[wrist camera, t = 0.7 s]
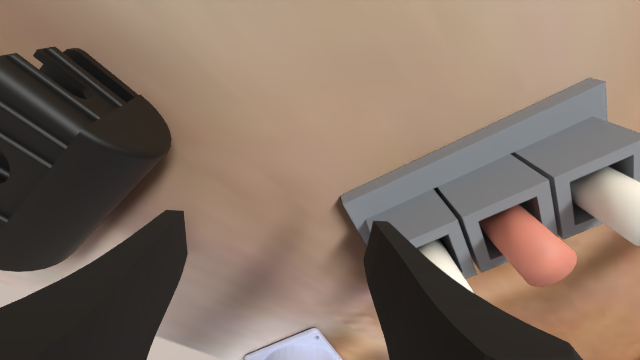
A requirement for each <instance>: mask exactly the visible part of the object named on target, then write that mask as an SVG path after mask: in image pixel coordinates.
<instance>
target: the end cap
mask: <svg viewBox="0 0 640 360" xmlns="http://www.w3.org/2000/svg"><path fill="white" fill-rule="evenodd" d="M33 56H34V57H35V58H36V59H38V60H39V61H40V62H42V63H43V65H42V67H41V68H40V69H37V68H36V67H35V66H33V65H32V64H31V63H29V62H28V61H27V60H25V59H24V58H23V57H21V56H20V55H18V54H17V53H14V54H8V55H3V56H0V270H3V271H15V272H23V271H35V270H40V269H45V268H48V267H51V266H54V265H56V264H58V263H60V262H62V261H63V260H65V259H67V258H68V257H69V256H70V255H71V254H72V253H73V252H74V251H75V250H76V249H77V248H78V247H79V246H80V245H81V244H82V243H83V242H84V241H85V240H86V239H87V238H88V236H89V235H90V234H91V233H92V232H93V231H94V230H95V229H96V228H97V227H98V226H99V225H100V224H101V223H102V222H103V221H104V219H105V218H106V217H107V216H108V215H109V214H110V213H111V212H112V211H113V210H114V209H115V208H116V207H117V206H118V205H119V204H120V203H121V201H122V200H123V199H124V198H125V197H126V196H127V195H128V194H129V193H130V192H131V191H132V190H133V189H134V188H135V187H136V186H137V184H138V183H139V182H140V181H141V180H142V179H143V178H144V177H145V176H146V175H147V174H148V173H149V172H150V171H151V170H152V169H153V167H154V166H155V165H156V164H157V163H158V162H159V161H160V160H161V159H162V158H163V157H164V156H165V155H166V154H167V152H168V151H169V149H170V147H171V134H170V131H169V128H168V126H167V124H166V122H165V121H164V119H163V117H162V116H161V115H160V114H159V112H158V111H157V110H156V109H155V108H154V107H153V106H152V105H151V104H150V103H149V102H148V101H147V100H146V99H145V98H144V97H143V96H142V95H138V94H137V93H135V92H134V91H133V90H132V89H131V88H129V87H128V86H127V85H126V84H124V83H123V82H122V81H121V80H119V79H118V78H117V77H116V76H114V75H113V74H112V73H111V72H110V71H108V70H107V69H106V68H105V67H103V66H102V65H101V64H100V63H98V62H97V61H96V60H95V59H93V58H92V57H91V56H90V55H89V54H87V53H86V52H85V51H83V50H81V49H78V48H72V49H67V50H66V51H64V52H61V51H60V50H59V49H57V48H56V47H50V48H44V49H38V50H37V51H36V52H35V54H34V55H33Z"/></svg>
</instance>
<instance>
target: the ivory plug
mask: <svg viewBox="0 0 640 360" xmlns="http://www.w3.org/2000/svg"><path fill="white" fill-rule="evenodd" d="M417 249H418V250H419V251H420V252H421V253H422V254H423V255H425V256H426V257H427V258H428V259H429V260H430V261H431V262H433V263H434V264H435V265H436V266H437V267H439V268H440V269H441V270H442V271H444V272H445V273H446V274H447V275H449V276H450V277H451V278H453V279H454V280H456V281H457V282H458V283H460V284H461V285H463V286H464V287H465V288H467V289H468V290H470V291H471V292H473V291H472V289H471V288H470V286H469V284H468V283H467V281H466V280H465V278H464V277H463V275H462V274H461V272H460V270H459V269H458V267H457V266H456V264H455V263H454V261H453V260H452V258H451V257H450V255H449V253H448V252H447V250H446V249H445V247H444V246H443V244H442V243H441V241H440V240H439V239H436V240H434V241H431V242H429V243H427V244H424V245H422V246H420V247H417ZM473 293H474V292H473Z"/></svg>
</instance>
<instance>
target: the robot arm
mask: <svg viewBox="0 0 640 360" xmlns="http://www.w3.org/2000/svg"><path fill="white" fill-rule="evenodd" d="M186 258H187V243H186V232H185V222H184V211H175V210H166V211H164V212H163V213H161V214H160V215H159V216H157V217H156V218H155V219H153V220H152V221H151V222H149V223H148V224H147V225H145V226H144V227H143V228H141V229H140V230H139V231H137V232H136V233H134V234H133V235H132V236H130V237H129V238H128V239H126V240H125V241H123V242H122V243H120V244H119V245H117V246H116V247H114V248H113V249H111V250H110V251H108V252H107V253H105V254H104V255H102V256H101V257H99V258H98V259H96V260H94V261H93V262H91V263H90V264H88V265H86V266H84V267H83V268H81V269H79V270H77V271H76V272H74V273H72V274H70V275H68V276H67V277H65V278H63V279H61V280H59V281H57V282H55V283H53V284H51V285H49V286H47V287H45V288H43V289H40V290H38V291H36V292H34V293H32V294H30V295H28V296H26V297H24V298H22V299H20V300H17V301H15V302H12V303H10V304H8V305H6V306H3V307H1V308H0V360H146V359H147V356H148V353H149V350H150V347H151V345H152V342H153V340H154V337H155V335H156V332H157V330H158V328H159V326H160V323H161V321H162V319H163V317H164V315H165V312H166V310H167V308H168V306H169V303H170V301H171V299H172V297H173V294H174V292H175V290H176V288H177V285H178V283H179V281H180V278H181V275H182V272H183V268H184V265H185V261H186ZM364 265H365V272H366V277H367V283H368V286H369V290H370V293H371V296H372V299H373V303H374V306H375V309H376V312H377V315H378V318H379V321H380V325H381V328H382V331H383V334H384V338H385V341H386V345H387V349H388V354H389V359H390V360H583V359H582V358H581V357H580V356H579V354H578V353H577V352H576V351H575V350H574V348H573V347H572V346H571V345H570V344H569V343H568V342H566V341H564V340H562V339H559V338H557V337H555V336H553V335H551V334H548V333H546V332H544V331H542V330H540V329H537V328H535V327H533V326H531V325H529V324H527V323H525V322H523V321H521V320H519V319H517V318H515V317H514V316H512V315H510V314H508V313H506V312H504V311H502V310H501V309H499V308H497V307H495V306H494V305H492V304H490V303H489V302H487V301H486V300H484V299H482V298H481V297H479V296H477V295H476V294H474V293H473V292H471V291H470V290H468V289H467V288H465V287H464V286H463V285H461V284H460V283H458V282H457V281H456V280H454V279H453V278H451V277H450V276H449V275H447V274H446V273H445V272H444V271H442V270H441V269H440V268H439V267H437V266H436V265H435V264H434V263H433V262H431V261H430V260H429V259H428V258H427V257H426V256H425V255H423V254H422V253H421V252H420V251H419V250H418V249H417V248H416V247H415V246H414V245H413V244H412V243H410V242H409V241H408V240H407V239H406V238H405V237H404V236H403V235H402V234H401V233H400V232H399V231H398V230H397V229H396V228H395V227H394V226H393V225H392V224H390V223H389V222H388V221H373V223H372V228H371V232H370V236H369V240H368V244H367V249H366V253H365V257H364ZM244 360H343V359H342V358H341V357H340V356H339V354H338V353H337V352H336V351H335V350H334V348H333V347H332V346H331V345H330V343H329V342H328V341H327V340H326V339H325V337H324V336H323V335H322V334H321V332H320V331H319V330H318V329H316V328H312V329H309V330H307V331H304V332H302V333H299V334H297V335H294V336H292V337H290V338H287V339H285V340H282V341H280V342H277V343H275V344H273V345H270V346H268V347H265V348H263V349H260V350H258V351H255V352H253V353H251V354H248V355H246V356H245V357H244Z"/></svg>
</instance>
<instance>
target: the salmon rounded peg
mask: <svg viewBox="0 0 640 360" xmlns="http://www.w3.org/2000/svg"><path fill="white" fill-rule="evenodd" d="M479 224H480V228H481V230H482V231H483V232H484V233H485V234H486V236H487V237H488V238H489V239H490V240H491V241H492V242H493V244H494V245H495V246H496V247H497V248H498V249H499V251H500V252H501V253H502V254H503V255H504V256H505V258H506V259H507V260H508V261H509V262H510V263H511V265H512V266H513V267H514V268H515V269H516V270H517V272H518V273H519V274H520V275H521V276H522V277H523V278H524V280H525V281H526V282H527V283H528V284H530V285H532V286H536V287H544V286H549V285H552V284H555V283H557V282H559V281H561V280H562V279H564V278H565V277H566V276H567V275H569V274H570V273H571V271H572V270H573V269H574V267H575V265H576V262H577V256H576V254H575V252H574V251H573V250H572V249H571V248H569V247H568V246H567V245H566V244H565V243H564V242H562V241H561V240H560V239H559V238H558V237H557V236H555V235H554V234H553V233H552V232H551V231H550V230H548V229H547V228H546V227H545V226H544V225H543V224H541V223H540V222H539V221H538V220H537V219H536V218H535V217H533V216H532V215H531V214H530V213H529V212H528V211H526V210H525V209H524V208H523V207H522V206H521V205H519V204H518V205H515V206H513V207H511V208H508V209H506V210H504V211H501V212H499V213H497V214H494V215H492V216H490V217H487V218H485V219H483V220H480V222H479Z"/></svg>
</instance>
